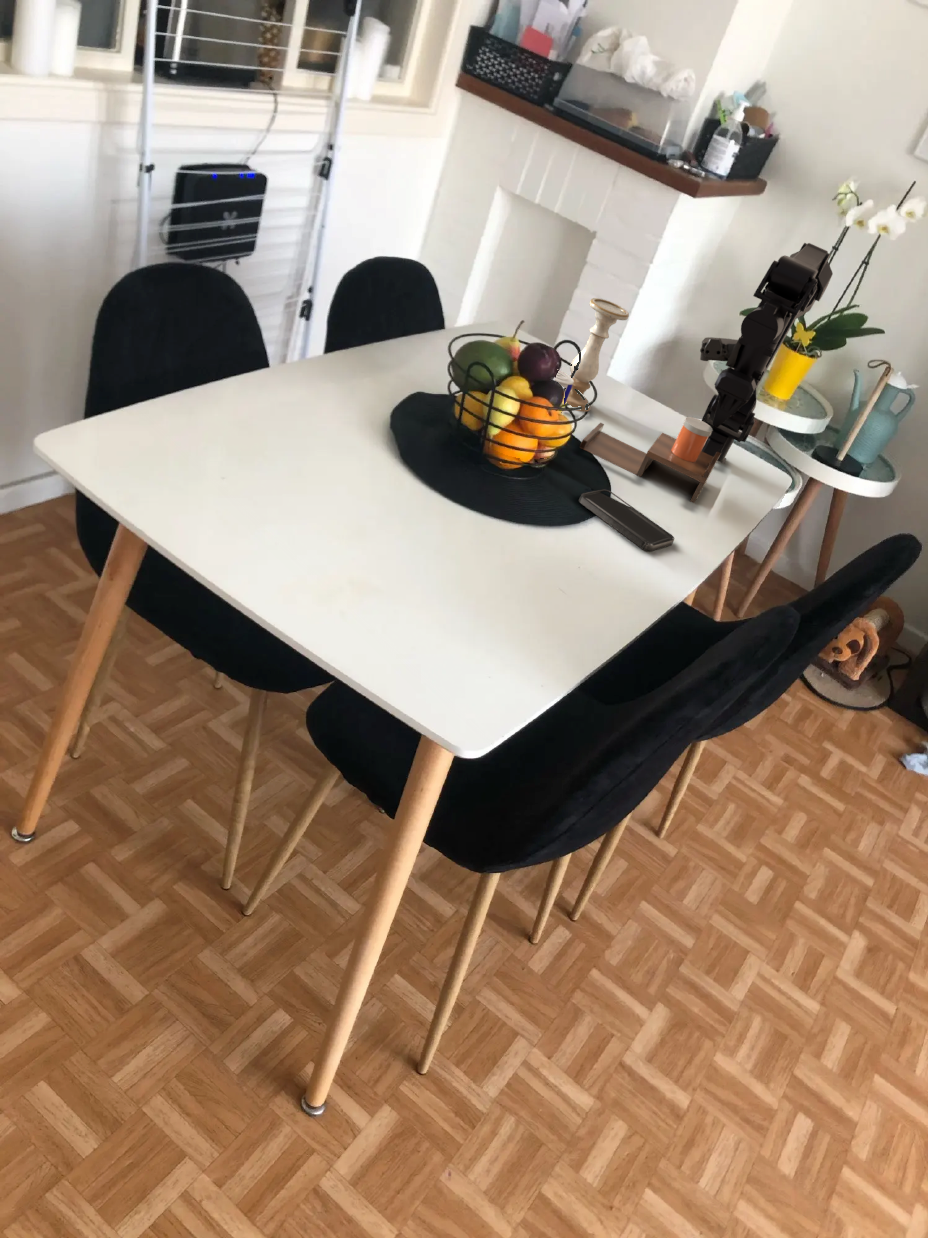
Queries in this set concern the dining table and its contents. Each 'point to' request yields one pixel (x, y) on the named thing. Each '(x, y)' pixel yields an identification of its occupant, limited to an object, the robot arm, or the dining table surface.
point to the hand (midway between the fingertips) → (719, 419)
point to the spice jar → (691, 439)
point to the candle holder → (593, 349)
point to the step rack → (648, 456)
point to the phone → (627, 520)
